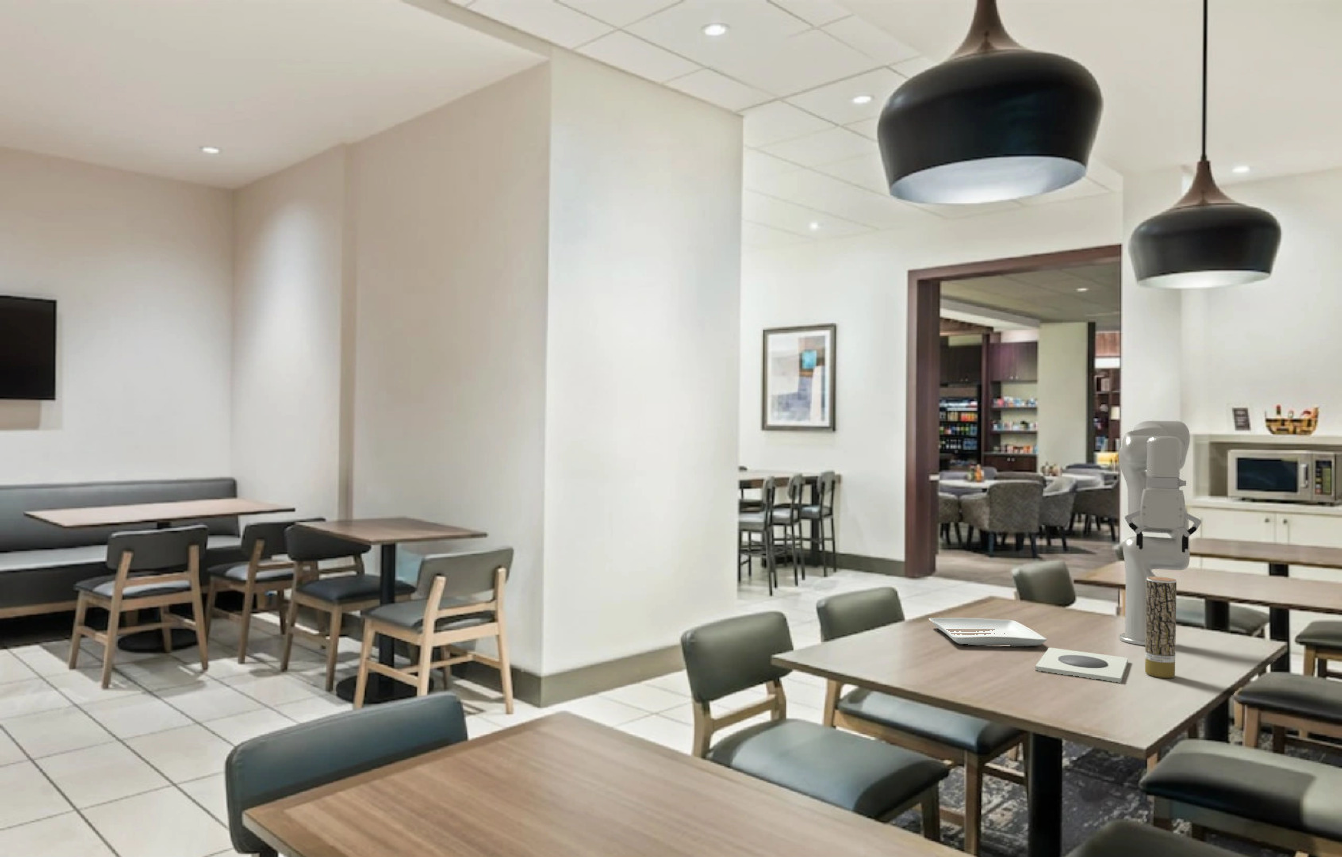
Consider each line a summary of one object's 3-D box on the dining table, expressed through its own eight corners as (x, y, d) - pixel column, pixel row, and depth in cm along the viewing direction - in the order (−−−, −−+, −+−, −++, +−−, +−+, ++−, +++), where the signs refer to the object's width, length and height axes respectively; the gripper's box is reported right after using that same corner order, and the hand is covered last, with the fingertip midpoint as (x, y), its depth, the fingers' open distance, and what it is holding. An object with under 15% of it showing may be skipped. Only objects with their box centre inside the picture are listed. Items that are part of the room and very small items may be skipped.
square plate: (1048, 651, 253) (1048, 638, 253) (952, 649, 254) (953, 636, 254) (1013, 630, 280) (1014, 617, 280) (927, 628, 281) (927, 616, 281)
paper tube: (1179, 680, 224) (1180, 581, 224) (1149, 678, 225) (1151, 580, 225) (1169, 672, 231) (1171, 577, 231) (1141, 671, 232) (1142, 576, 232)
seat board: (1049, 651, 251) (1049, 646, 251) (1127, 662, 241) (1128, 656, 241) (1035, 670, 230) (1035, 665, 230) (1120, 683, 220) (1121, 677, 220)
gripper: (1201, 485, 227) (1201, 551, 226) (1126, 482, 236) (1125, 546, 235) (1201, 486, 220) (1200, 554, 220) (1124, 483, 229) (1123, 549, 229)
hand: (1161, 550), depth 228 cm, fingers open, 9 cm apart
